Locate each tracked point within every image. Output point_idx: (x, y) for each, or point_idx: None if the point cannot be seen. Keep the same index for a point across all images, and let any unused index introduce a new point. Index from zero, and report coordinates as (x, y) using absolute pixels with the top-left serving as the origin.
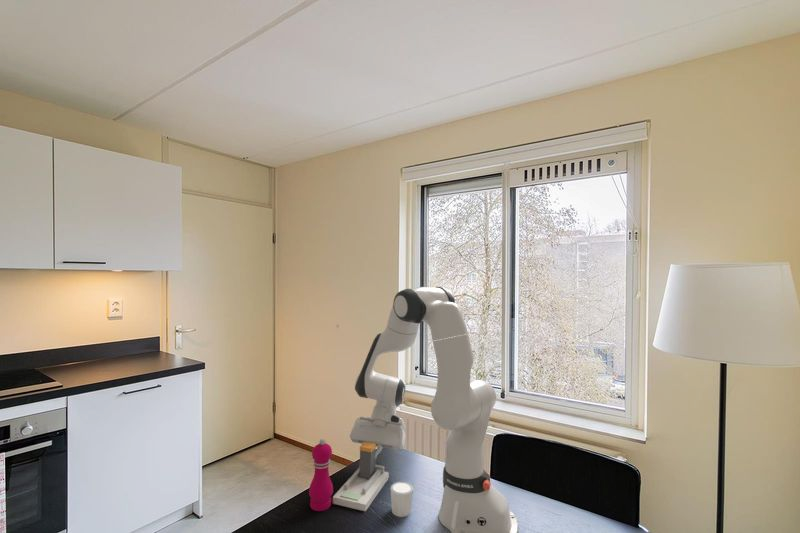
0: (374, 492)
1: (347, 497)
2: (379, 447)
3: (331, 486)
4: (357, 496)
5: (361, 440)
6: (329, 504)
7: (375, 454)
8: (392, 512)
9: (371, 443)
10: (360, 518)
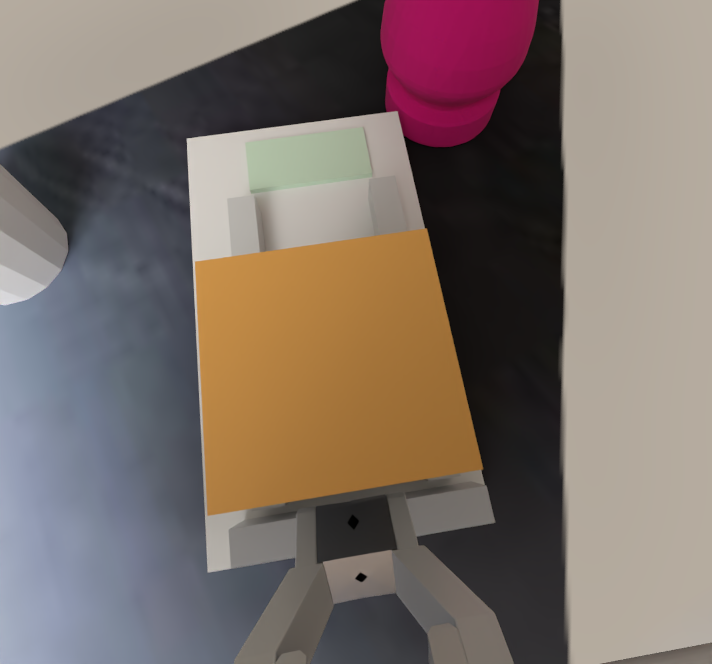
0: (193, 261)
1: (313, 133)
2: (251, 661)
3: (393, 10)
4: (264, 165)
5: (671, 651)
6: (386, 95)
7: (296, 536)
8: (58, 220)
9: (301, 463)
10: (198, 116)
